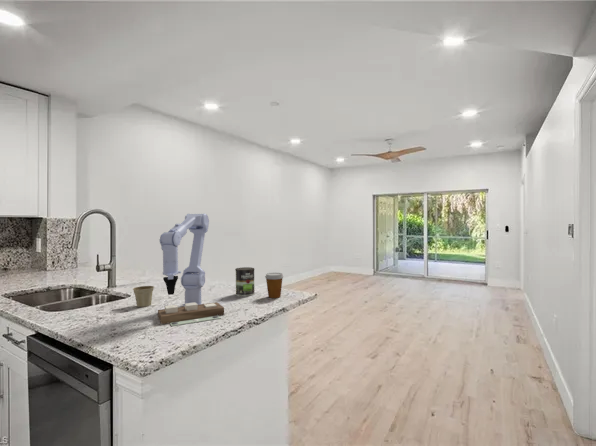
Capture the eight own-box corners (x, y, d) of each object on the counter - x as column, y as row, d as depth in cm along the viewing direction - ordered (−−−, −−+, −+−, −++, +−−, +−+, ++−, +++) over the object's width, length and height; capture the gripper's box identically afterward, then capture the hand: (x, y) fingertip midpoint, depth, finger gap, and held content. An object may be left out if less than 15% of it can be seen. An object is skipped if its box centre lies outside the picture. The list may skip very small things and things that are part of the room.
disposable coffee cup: (283, 298, 169) (282, 275, 169) (264, 299, 169) (264, 275, 169) (284, 294, 178) (283, 272, 178) (266, 294, 178) (266, 272, 178)
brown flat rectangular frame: (157, 317, 139) (157, 310, 139) (217, 308, 151) (216, 302, 151) (161, 324, 129) (161, 316, 129) (224, 314, 141) (224, 307, 141)
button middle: (184, 311, 141) (184, 303, 141) (195, 309, 143) (195, 302, 143) (186, 313, 137) (186, 305, 137) (197, 312, 139) (197, 304, 139)
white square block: (203, 312, 145) (203, 304, 145) (213, 310, 147) (213, 303, 147) (206, 314, 141) (206, 306, 141) (216, 312, 143) (216, 305, 143)
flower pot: (128, 307, 156) (128, 288, 156) (144, 302, 165) (144, 285, 165) (143, 309, 152) (143, 290, 152) (158, 304, 161) (158, 286, 161)
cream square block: (164, 314, 137) (164, 306, 137) (176, 312, 139) (175, 304, 139) (166, 316, 133) (166, 308, 133) (177, 315, 135) (177, 307, 135)
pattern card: (169, 323, 130) (169, 322, 130) (217, 316, 139) (217, 315, 139) (171, 326, 126) (171, 325, 126) (220, 318, 136) (220, 317, 136)
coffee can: (257, 295, 178) (257, 268, 178) (238, 297, 173) (238, 270, 173) (251, 291, 187) (250, 266, 187) (233, 293, 183) (232, 268, 182)
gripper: (181, 262, 131) (181, 297, 131) (180, 258, 144) (180, 290, 144) (161, 263, 128) (162, 298, 128) (163, 259, 142) (163, 291, 142)
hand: (171, 294), depth 136 cm, fingers closed
